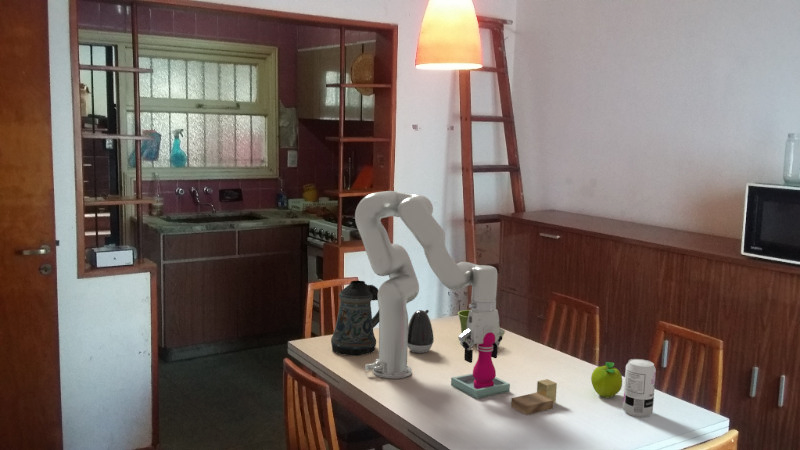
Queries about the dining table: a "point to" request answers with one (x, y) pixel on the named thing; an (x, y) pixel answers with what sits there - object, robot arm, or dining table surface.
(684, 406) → the dining table surface
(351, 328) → the beer stein
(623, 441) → the dining table surface
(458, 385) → the tray
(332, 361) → the dining table surface
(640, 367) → the supplement can
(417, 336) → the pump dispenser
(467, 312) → the plant pot
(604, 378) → the fruit
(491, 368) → the pepper mill
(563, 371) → the dining table surface
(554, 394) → the block
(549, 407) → the flat wooden chunk
